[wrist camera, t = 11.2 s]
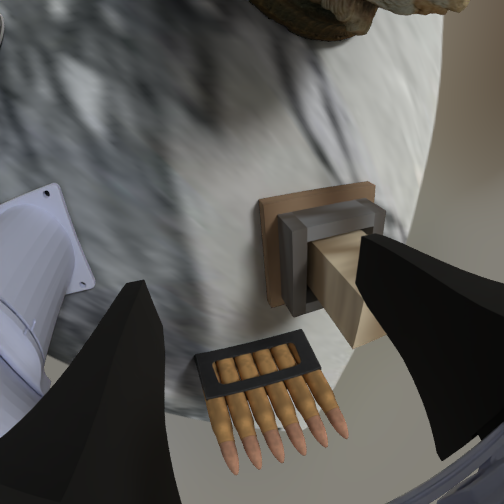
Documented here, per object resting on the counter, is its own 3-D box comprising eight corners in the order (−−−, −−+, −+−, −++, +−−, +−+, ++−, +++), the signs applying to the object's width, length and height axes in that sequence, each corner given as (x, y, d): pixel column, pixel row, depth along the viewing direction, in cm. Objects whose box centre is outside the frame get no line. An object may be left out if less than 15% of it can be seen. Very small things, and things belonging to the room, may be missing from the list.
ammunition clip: (197, 366, 26) (225, 480, 16) (193, 354, 25) (221, 475, 15) (300, 340, 28) (354, 437, 18) (302, 328, 27) (360, 429, 17)
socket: (267, 300, 24) (282, 328, 21) (258, 199, 19) (277, 220, 16) (358, 273, 26) (379, 295, 23) (367, 181, 21) (396, 197, 18)
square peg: (300, 275, 22) (352, 349, 16) (300, 229, 20) (363, 300, 14) (344, 263, 23) (402, 326, 16) (347, 219, 21) (418, 278, 14)
